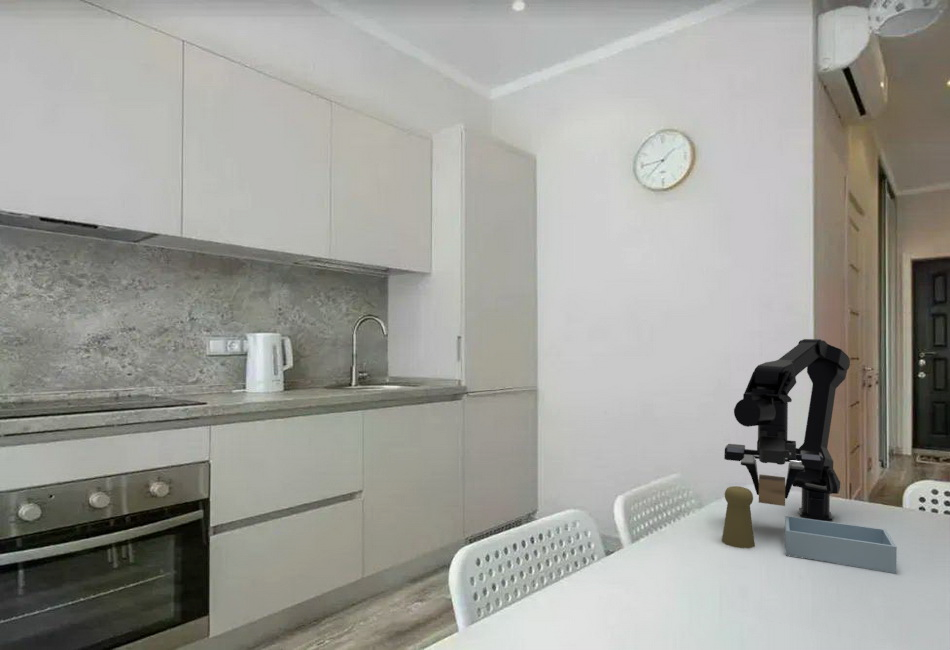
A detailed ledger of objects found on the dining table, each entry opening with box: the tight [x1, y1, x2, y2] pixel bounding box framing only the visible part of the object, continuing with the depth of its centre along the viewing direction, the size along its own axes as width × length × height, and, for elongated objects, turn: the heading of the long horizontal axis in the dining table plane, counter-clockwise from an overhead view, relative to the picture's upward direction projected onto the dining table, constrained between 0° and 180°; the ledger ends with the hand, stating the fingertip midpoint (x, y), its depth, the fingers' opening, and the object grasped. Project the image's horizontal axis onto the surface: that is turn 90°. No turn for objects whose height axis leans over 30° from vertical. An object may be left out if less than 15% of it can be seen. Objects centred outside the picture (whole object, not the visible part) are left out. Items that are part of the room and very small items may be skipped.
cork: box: [721, 485, 756, 549], centre depth 119 cm, size 6×6×11 cm
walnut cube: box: [758, 473, 786, 507], centre depth 127 cm, size 5×5×5 cm
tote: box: [784, 515, 897, 574], centre depth 113 cm, size 11×17×5 cm, turn 63°
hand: (771, 496), depth 127 cm, fingers closed on walnut cube, 5 cm apart
